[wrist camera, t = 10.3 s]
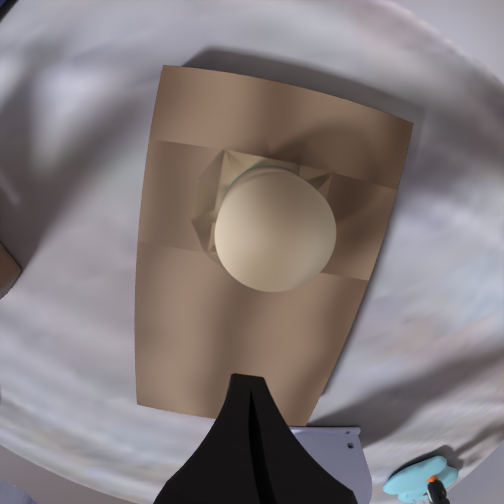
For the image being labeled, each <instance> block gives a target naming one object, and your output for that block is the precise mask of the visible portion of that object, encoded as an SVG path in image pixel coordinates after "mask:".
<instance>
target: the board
mask: <svg viewBox="0 0 504 504" xmlns="http://www.w3.org/2000/svg"><path fill="white" fill-rule="evenodd" d="M412 127H413V123H411V122H409V121H406V120H403V119H401V118H398V117H396V116H393V115H390V114H387V113H385V112H382V111H379V110H376V109H373V108H370V107H367V106H364V105H361V104H358V103H355V102H352V101H349V100H345V99H342V98H339V97H335V96H332V95H328V94H325V93H321V92H317V91H314V90H310V89H306V88H302V87H298V86H294V85H289V84H285V83H280V82H276V81H271V80H266V79H261V78H256V77H251V76H245V75H239V74H233V73H227V72H220V71H213V70H206V69H198V68H189V67H179V66H168V65H163V68H162V73H161V78H160V82H159V87H158V92H157V97H156V103H155V108H154V114H153V119H152V125H151V131H150V138H149V144H148V151H147V158H146V165H145V173H144V181H143V190H142V199H141V209H140V220H139V232H138V246H137V262H136V285H135V371H136V393H137V404H138V405H142V406H147V407H151V408H156V409H161V410H166V411H171V412H176V413H182V414H188V415H194V416H200V417H207V418H214V419H217V417H218V415H219V413H220V411H221V409H222V406H223V404H224V401H225V398H226V393H227V389H228V385H229V381H230V377H231V374H233V373H237V374H244V375H252V376H260V377H264V379H265V381H266V383H267V386H268V388H269V391H270V393H271V395H272V397H273V399H274V402H275V404H276V406H277V407H278V409H279V411H280V413H281V415H282V417H283V418H284V420H285V422H286V423H287V425H288V426H306V424H307V422H308V420H309V418H310V416H311V414H312V412H313V410H314V408H315V406H316V404H317V402H318V400H319V398H320V396H321V394H322V392H323V390H324V387H325V385H326V383H327V381H328V379H329V377H330V375H331V372H332V370H333V368H334V366H335V364H336V361H337V359H338V357H339V354H340V352H341V350H342V348H343V345H344V343H345V340H346V338H347V336H348V333H349V331H350V328H351V326H352V323H353V321H354V318H355V316H356V313H357V311H358V308H359V306H360V303H361V300H362V298H363V295H364V292H365V290H366V287H367V284H368V282H369V279H370V276H371V273H372V270H373V267H374V265H375V262H376V259H377V256H378V253H379V250H380V247H381V244H382V240H383V237H384V234H385V231H386V228H387V224H388V221H389V218H390V214H391V211H392V207H393V204H394V200H395V197H396V193H397V190H398V186H399V182H400V178H401V174H402V170H403V166H404V162H405V158H406V154H407V150H408V145H409V141H410V136H411V132H412ZM265 165H274V166H281V167H284V168H287V169H289V170H292V171H293V172H295V173H297V174H298V175H299V176H300V177H302V178H303V179H304V180H305V181H306V182H308V183H309V184H310V185H311V186H312V187H314V188H315V189H316V190H317V191H318V192H319V193H320V194H321V195H322V196H323V197H324V198H325V200H326V201H327V203H328V204H329V206H330V208H331V210H332V212H333V215H334V218H335V223H336V242H335V246H334V250H333V252H332V255H331V257H330V259H329V261H328V263H327V264H326V265H325V267H324V268H323V269H322V271H321V272H320V273H319V274H318V275H317V276H315V277H314V278H313V279H312V280H310V281H309V282H307V283H306V284H304V285H302V286H300V287H297V288H295V289H291V290H287V291H281V292H266V291H260V290H256V289H253V288H250V287H248V286H246V285H244V284H242V283H241V282H239V281H238V280H236V279H235V278H234V277H233V276H232V275H231V274H230V273H229V272H228V271H227V270H226V269H225V267H224V266H223V264H222V262H221V260H220V258H219V256H218V253H217V250H216V245H215V226H216V222H217V218H218V214H219V210H220V207H221V203H222V200H223V197H224V194H225V192H226V190H227V189H228V187H229V186H230V184H231V183H232V182H233V181H234V180H235V179H236V178H237V177H238V176H239V175H241V174H242V173H244V172H245V171H247V170H249V169H252V168H255V167H258V166H265Z"/></svg>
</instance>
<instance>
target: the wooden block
mask: <svg viewBox="0 0 504 504" xmlns="http://www.w3.org/2000/svg"><path fill="white" fill-rule="evenodd" d="M21 271H22V270H21V268H20V267H19V265H18V264H17V263H16V262H15V261H14V259H13V258H12V257H11V255H10V254H9V253H8V252H7V250H6V249H5V248H4V246H3V245H2V244H1V242H0V299H1V298H3V297H4V296H5V295H6V294H7V293H8V292H9V290H10V289H11V287H12V286H13V284H14V283H15V281H16V280H17V278H18V277H19V275H20V274H21Z"/></svg>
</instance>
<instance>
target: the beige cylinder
mask: <svg viewBox="0 0 504 504" xmlns="http://www.w3.org/2000/svg"><path fill="white" fill-rule="evenodd" d="M335 242H336V223H335V218H334V215H333V212H332V210H331V208H330V206H329V204H328V203H327V201H326V200H325V198H324V197H323V196H322V195H321V194H320V193H319V192H318V191H317V190H316V189H315V188H314V187H312V186H311V185H310V184H309V183H308V182H306V181H305V180H304V179H303V178H302V177H300V176H299V175H298V174H297V173H295V172H293V171H292V170H289V169H287V168H284V167H281V166H274V165H265V166H258V167H255V168H252V169H249V170H247V171H245V172H244V173H242V174H241V175H239V176H238V177H237V178H236V179H235V180H234V181H233V182H232V183H231V184H230V186H229V187H228V189H227V190H226V192H225V194H224V197H223V200H222V203H221V207H220V210H219V214H218V218H217V222H216V226H215V245H216V250H217V253H218V256H219V258H220V260H221V262H222V264H223V266H224V267H225V269H226V270H227V271H228V272H229V273H230V274H231V275H232V276H233V277H234V278H235V279H236V280H238V281H239V282H241V283H242V284H244V285H246V286H248V287H250V288H253V289H256V290H260V291H266V292H281V291H287V290H291V289H295V288H297V287H300V286H302V285H304V284H306V283H307V282H309V281H310V280H312V279H313V278H314V277H315V276H317V275H318V274H319V273H320V272H321V271H322V269H323V268H324V267H325V265H326V264H327V263H328V261H329V259H330V257H331V255H332V252H333V250H334V246H335Z"/></svg>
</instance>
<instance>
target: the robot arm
mask: <svg viewBox="0 0 504 504" xmlns="http://www.w3.org/2000/svg"><path fill="white" fill-rule="evenodd" d="M360 432H361V430H360V428H359V427H343V428H317V427H289V426H288V425H287V423H286V422H285V420H284V418H283V417H282V415H281V413H280V411H279V409H278V407H277V406H276V404H275V402H274V399H273V397H272V395H271V393H270V391H269V388H268V386H267V383H266V381H265V379H264V377H260V376H252V375H244V374H237V373H233V374H231V377H230V381H229V385H228V389H227V393H226V398H225V401H224V404H223V406H222V409H221V411H220V413H219V415H218V417H217V419H216V420H215V422H214V424H213V426H212V428H211V429H210V431H209V432H208V434H207V436H206V437H205V439H204V440H203V441H202V443H201V444H200V446H199V447H198V448H197V450H196V451H195V452H194V453H193V455H192V456H191V457H190V458H189V459H188V460H187V462H186V463H185V464H184V465H183V466H182V467H181V468H180V469H179V470H178V471H177V472H176V473H175V474H174V475H173V476H172V477H171V478H170V479H169V480H168V481H167V482H166V484H165V485H164V487H163V488H162V490H161V491H160V493H159V494H158V496H157V497H156V499H155V501H154V503H153V504H369V502H370V499H371V495H372V479H371V475H370V472H369V468H368V465H367V462H366V459H365V456H364V452H363V449H362V446H361V443H360V440H359V437H358V435H359V433H360ZM0 504H40V503H37V502H35V501H34V500H33V498H32V497H31V496H30V495H29V494H28V493H27V492H25V491H24V490H22V489H20V488H18V487H16V486H14V485H12V484H11V483H9V482H7V481H5V480H3V479H1V478H0Z"/></svg>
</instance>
